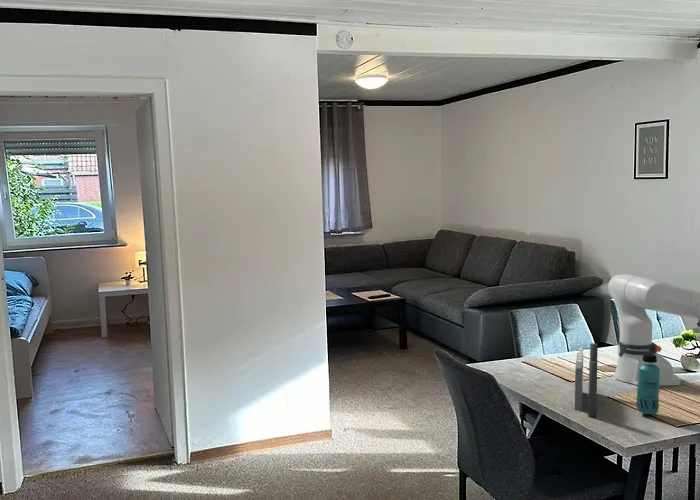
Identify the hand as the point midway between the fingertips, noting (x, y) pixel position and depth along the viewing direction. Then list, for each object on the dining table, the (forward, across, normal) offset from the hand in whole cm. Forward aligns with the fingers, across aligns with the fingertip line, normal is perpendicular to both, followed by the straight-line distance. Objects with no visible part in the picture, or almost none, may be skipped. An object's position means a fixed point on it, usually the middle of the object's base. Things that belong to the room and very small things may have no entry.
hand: (694, 333), depth 193 cm
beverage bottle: (+13, 0, -28) cm, 31 cm away
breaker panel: (+34, +7, -28) cm, 44 cm away
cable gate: (+29, +4, -28) cm, 40 cm away
